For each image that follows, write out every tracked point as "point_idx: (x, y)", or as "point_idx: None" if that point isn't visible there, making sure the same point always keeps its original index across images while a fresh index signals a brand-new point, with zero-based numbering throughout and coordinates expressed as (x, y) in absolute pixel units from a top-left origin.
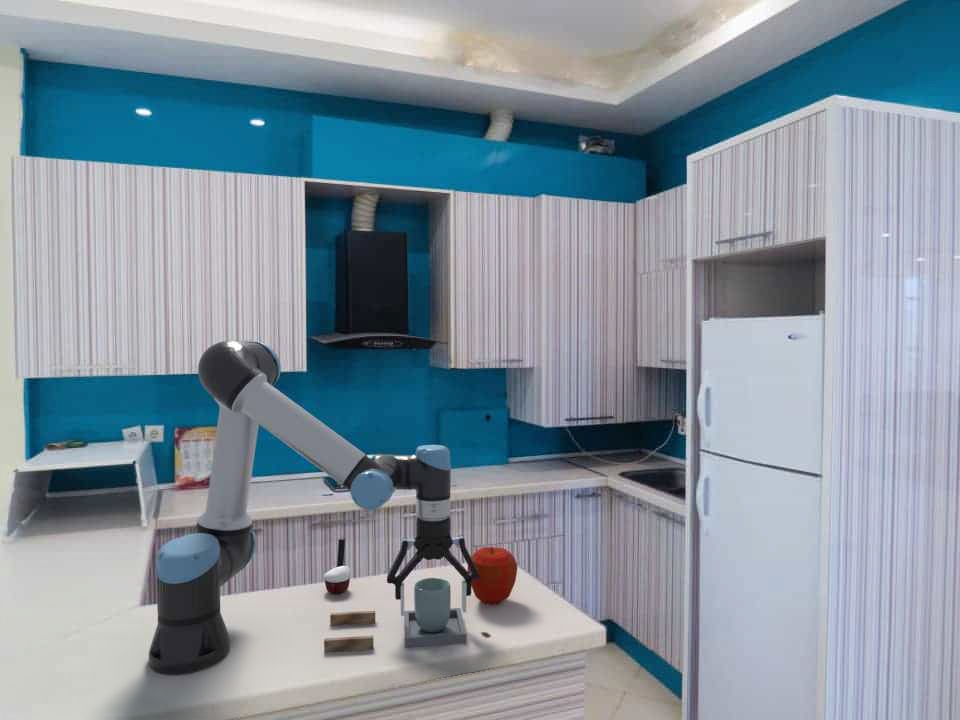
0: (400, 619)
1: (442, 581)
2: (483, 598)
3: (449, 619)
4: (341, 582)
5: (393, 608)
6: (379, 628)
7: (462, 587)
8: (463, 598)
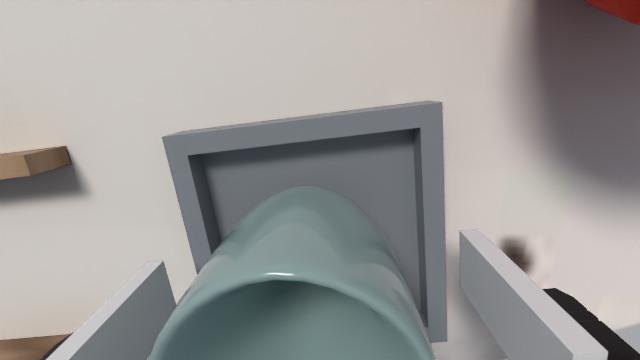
0: (164, 127)
1: (374, 311)
2: (597, 7)
3: (379, 154)
4: None
5: (100, 5)
6: (103, 204)
7: (531, 356)
8: (498, 338)
